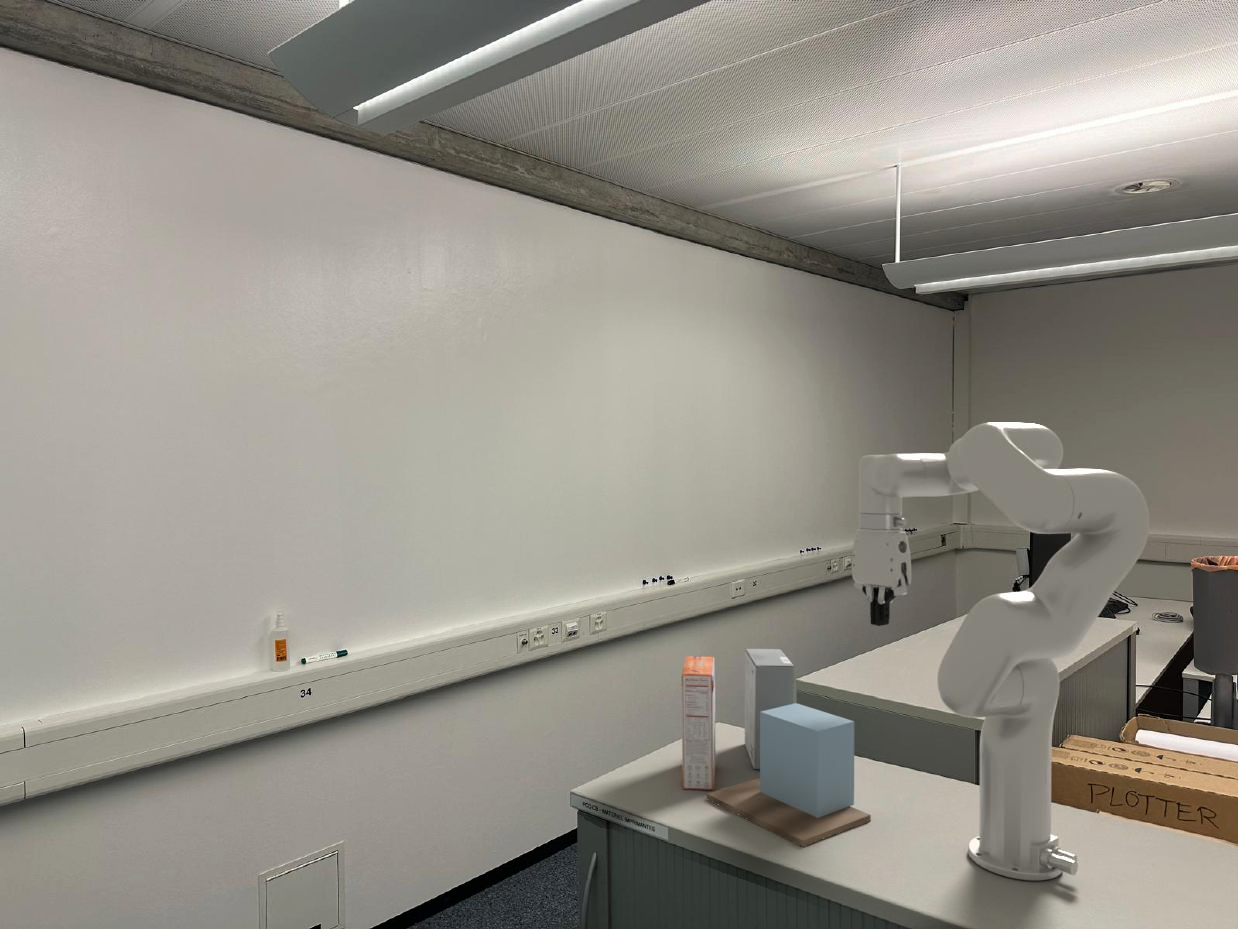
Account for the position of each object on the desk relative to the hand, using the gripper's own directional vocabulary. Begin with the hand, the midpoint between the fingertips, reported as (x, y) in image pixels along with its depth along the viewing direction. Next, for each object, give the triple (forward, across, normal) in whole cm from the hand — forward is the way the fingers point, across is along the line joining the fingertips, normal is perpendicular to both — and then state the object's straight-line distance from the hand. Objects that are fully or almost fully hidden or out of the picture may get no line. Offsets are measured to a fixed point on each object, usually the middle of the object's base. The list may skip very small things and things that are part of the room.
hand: (879, 624), depth 153 cm
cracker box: (+29, +22, +24) cm, 44 cm away
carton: (+21, +2, +13) cm, 25 cm away
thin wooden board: (+29, +2, +22) cm, 37 cm away
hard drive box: (+29, +22, +6) cm, 37 cm away
